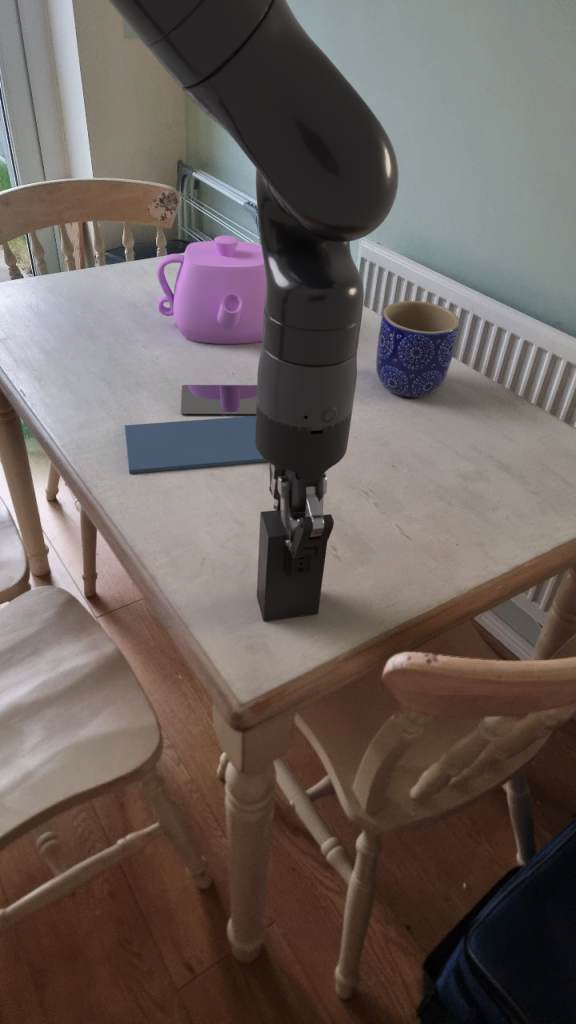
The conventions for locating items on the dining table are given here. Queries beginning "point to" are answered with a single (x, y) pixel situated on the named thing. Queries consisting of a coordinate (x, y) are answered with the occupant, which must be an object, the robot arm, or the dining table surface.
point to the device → (284, 575)
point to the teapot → (217, 291)
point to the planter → (415, 347)
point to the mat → (191, 444)
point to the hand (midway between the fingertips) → (291, 557)
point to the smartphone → (219, 400)
